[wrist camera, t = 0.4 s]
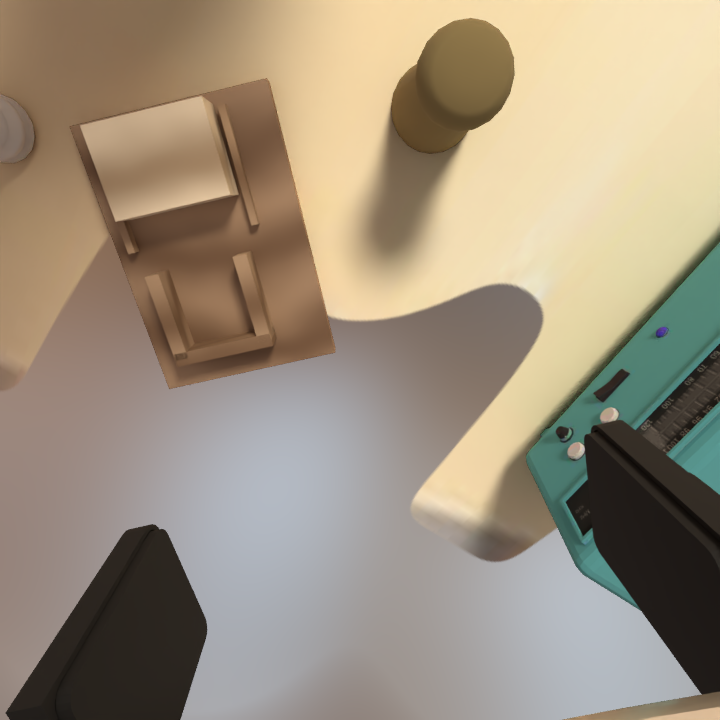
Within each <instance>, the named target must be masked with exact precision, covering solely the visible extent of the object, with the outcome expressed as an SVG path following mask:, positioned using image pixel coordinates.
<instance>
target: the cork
mask: <svg viewBox="0 0 720 720" xmlns="http://www.w3.org/2000/svg"><path fill="white" fill-rule="evenodd" d="M513 79H514V57H513V54H512V51H511V48H510V45H509V43H508V41H507V40H506V38H505V37H504V36H503V34H502V33H501V32H500V30H499V29H497V28H496V27H494V26H493V25H491V24H490V23H488V22H486V21H483V20H478V19H473V18H469V19H463V20H457V21H453V22H451V23H449V24H448V25H446V26H444V27H442V28H441V29H439V30H438V31H437V32H436V33H435V34H434V35H433V36H432V37H431V38H430V40H429V41H428V42H427V43H426V45H425V47H424V49H423V51H422V54H421V56H420V58H419V60H418V62H417V64H416V65H415V66H413V67H412V68H410V69H409V70H408V71H407V72H406V73H405V75H404V76H403V77H402V78H401V79H400V80H399V83H398V85H397V87H396V89H395V91H394V93H393V99H392V106H391V110H392V119H393V123H394V126H395V128H396V130H397V133H398V135H399V136H400V137H401V138H402V139H403V141H404V142H405V143H406V144H407V145H408V146H410V147H412V148H414V149H415V150H417V151H419V152H425V153H430V154H432V153H438V152H444V151H446V150H447V149H449V148H451V147H453V146H455V145H456V144H457V143H458V142H459V141H460V140H461V139H462V138H463V137H464V136H465V135H466V133H467V132H468V130H473V129H475V128H477V127H479V126H481V125H483V124H485V123H487V122H489V121H490V120H491V119H492V118H493V117H494V116H495V115H496V114H497V113H498V112H499V111H500V110H501V109H502V107H503V105H504V103H505V101H506V100H507V98H508V96H509V94H510V91H511V87H512V83H513Z"/></svg>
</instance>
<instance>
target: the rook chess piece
mask: <svg viewBox="0 0 720 720" xmlns="http://www.w3.org/2000/svg"><path fill="white" fill-rule="evenodd" d="M34 138H35V135H34V130H33V124H32V122H31V120H30V118H29V116H28V114H27V113H26V111H25V110H24V109H23V108H22V107H21V106H20V105H19V104H18V103H17V102H16V101H15V100H13V99H11V98H9V97H6V96H4V95H2V94H0V162H1V163H16V162H18V161H20V160H22V159H25V158H26V156H27V155H28V154H29V153H30V151H31V150H32V148H33V143H34Z"/></svg>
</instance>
